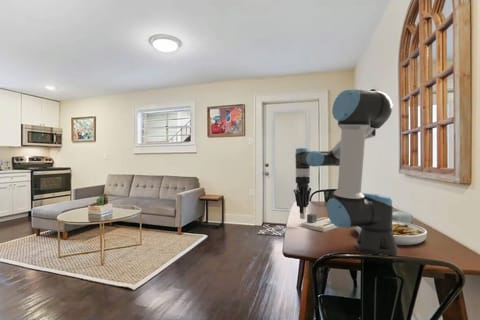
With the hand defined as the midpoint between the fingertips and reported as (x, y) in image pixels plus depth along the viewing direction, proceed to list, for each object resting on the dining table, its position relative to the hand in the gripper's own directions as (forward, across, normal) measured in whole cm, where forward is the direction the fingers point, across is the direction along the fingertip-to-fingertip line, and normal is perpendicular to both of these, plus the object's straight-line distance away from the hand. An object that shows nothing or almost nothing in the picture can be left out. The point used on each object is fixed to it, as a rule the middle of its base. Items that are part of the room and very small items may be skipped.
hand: (302, 218), depth 141 cm
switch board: (+5, -13, +5) cm, 15 cm away
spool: (+5, -44, +33) cm, 55 cm away
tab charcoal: (+3, -8, 0) cm, 8 cm away
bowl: (+5, -19, +37) cm, 42 cm away
